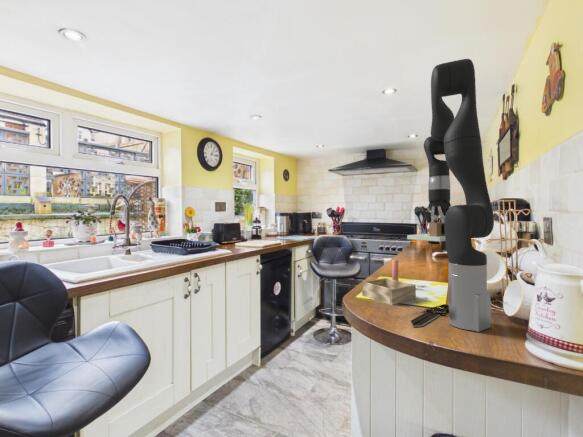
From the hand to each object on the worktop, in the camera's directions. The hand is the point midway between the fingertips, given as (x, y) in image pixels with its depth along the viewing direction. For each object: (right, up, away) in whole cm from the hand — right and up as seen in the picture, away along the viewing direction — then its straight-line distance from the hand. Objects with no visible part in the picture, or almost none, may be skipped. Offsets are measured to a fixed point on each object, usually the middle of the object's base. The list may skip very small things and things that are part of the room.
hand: (439, 233), depth 118 cm
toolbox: (-22, -23, -7) cm, 33 cm away
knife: (-14, -24, -25) cm, 38 cm away
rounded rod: (-15, -23, +7) cm, 28 cm away
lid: (-2, -2, +3) cm, 4 cm away
